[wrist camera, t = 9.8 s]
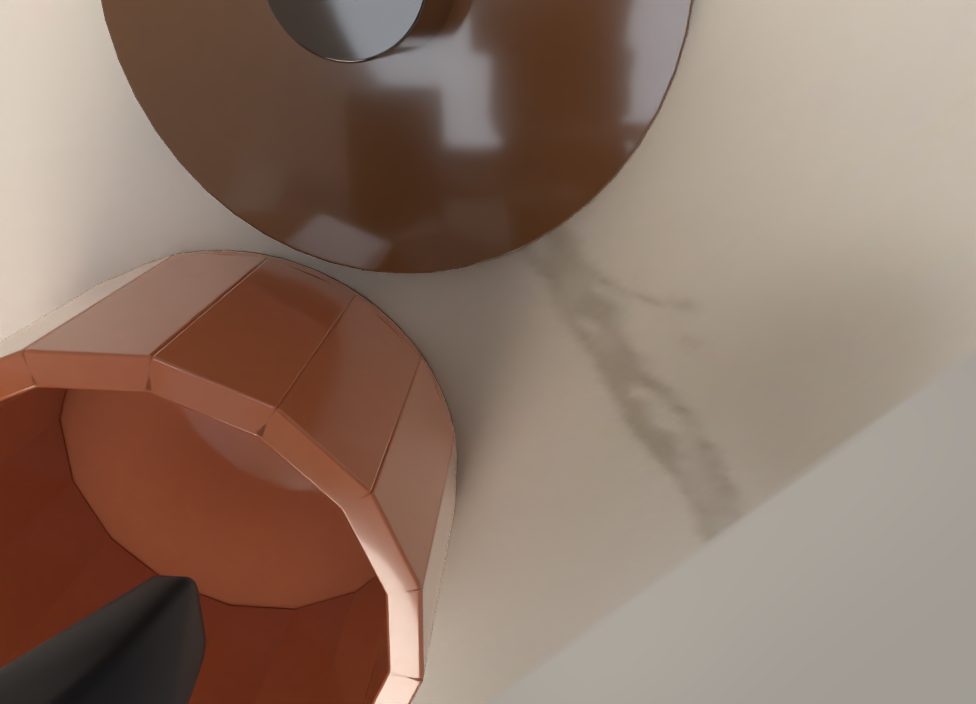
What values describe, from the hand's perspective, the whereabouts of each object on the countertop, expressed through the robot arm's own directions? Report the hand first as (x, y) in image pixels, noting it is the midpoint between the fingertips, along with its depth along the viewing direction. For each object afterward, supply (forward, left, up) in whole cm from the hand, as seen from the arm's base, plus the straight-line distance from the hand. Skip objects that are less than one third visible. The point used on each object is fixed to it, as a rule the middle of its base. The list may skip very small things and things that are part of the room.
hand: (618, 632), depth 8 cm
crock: (+2, +9, -11) cm, 15 cm away
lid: (+7, -2, -11) cm, 13 cm away
